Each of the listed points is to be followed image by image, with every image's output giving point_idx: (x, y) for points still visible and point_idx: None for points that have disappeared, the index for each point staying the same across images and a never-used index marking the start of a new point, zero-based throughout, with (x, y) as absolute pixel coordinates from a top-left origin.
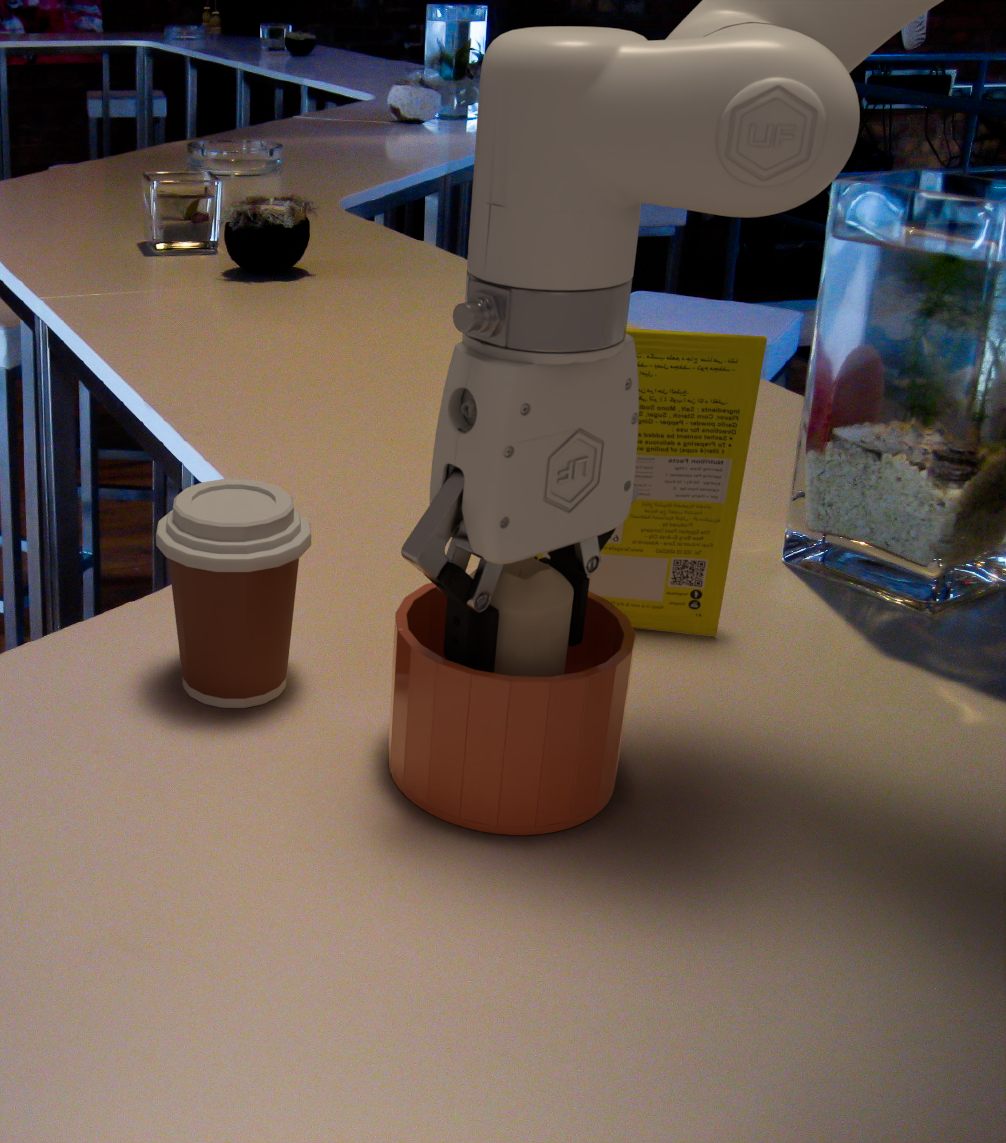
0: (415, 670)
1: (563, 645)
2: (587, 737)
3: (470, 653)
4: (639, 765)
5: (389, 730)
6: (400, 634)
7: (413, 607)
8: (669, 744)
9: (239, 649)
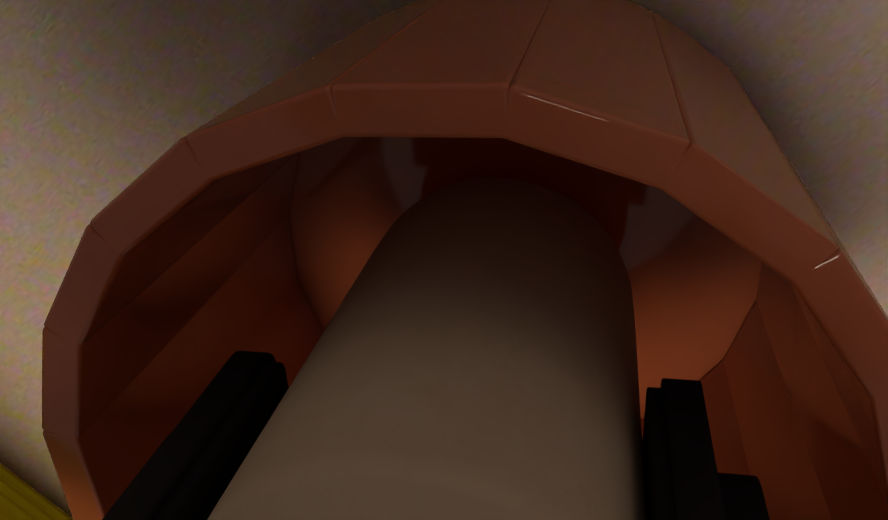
0: None
1: (369, 340)
2: (500, 24)
3: (738, 487)
4: (233, 81)
5: None
6: None
7: None
8: (122, 103)
9: None
